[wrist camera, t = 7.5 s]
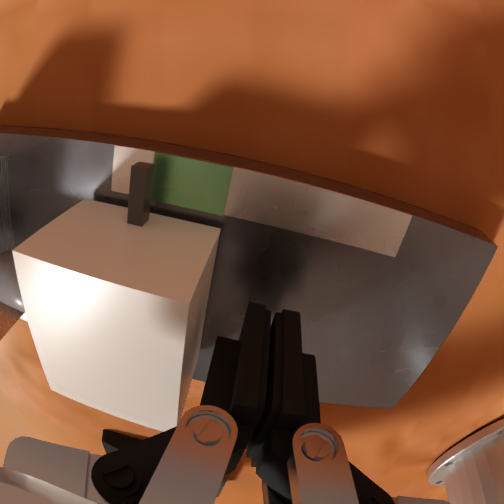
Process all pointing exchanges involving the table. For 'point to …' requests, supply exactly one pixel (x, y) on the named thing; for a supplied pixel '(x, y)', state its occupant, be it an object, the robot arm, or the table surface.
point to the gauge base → (272, 250)
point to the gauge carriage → (116, 303)
